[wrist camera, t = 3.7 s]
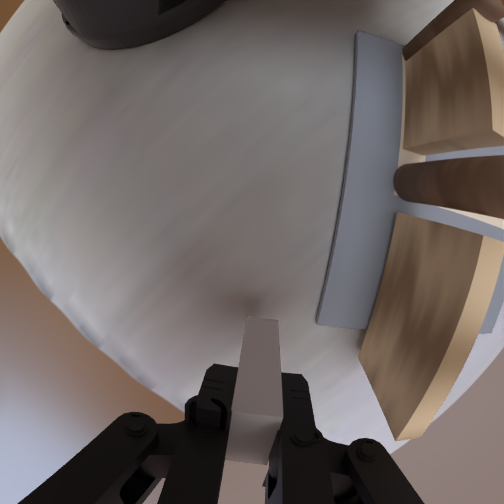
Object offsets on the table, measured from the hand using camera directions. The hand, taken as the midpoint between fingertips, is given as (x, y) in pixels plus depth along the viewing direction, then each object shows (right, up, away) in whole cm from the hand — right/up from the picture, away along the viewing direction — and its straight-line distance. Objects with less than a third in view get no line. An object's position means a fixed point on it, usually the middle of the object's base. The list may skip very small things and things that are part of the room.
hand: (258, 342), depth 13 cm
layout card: (+14, +8, +2) cm, 16 cm away
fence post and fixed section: (+10, +13, +1) cm, 17 cm away
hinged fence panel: (+8, +2, +3) cm, 9 cm away
